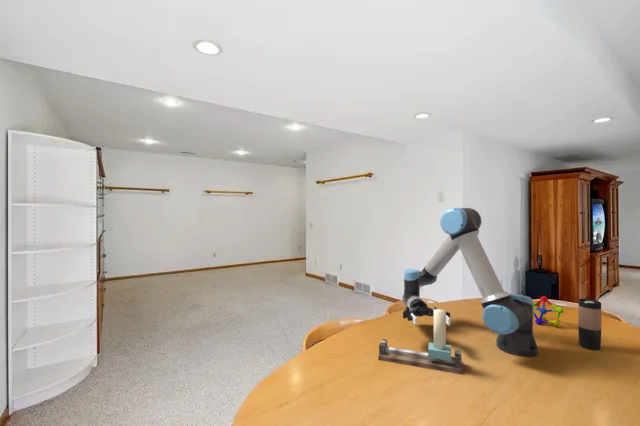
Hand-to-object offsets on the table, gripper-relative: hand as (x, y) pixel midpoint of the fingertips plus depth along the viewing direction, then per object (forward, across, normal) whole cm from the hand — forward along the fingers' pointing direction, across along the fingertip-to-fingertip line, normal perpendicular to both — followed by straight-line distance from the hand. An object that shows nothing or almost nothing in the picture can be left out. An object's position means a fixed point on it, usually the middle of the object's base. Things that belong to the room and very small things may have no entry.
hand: (432, 321), depth 128 cm
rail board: (+5, +7, -14) cm, 16 cm away
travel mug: (-10, -71, -14) cm, 73 cm away
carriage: (+7, 0, -10) cm, 13 cm away
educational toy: (-38, -71, -14) cm, 81 cm away
